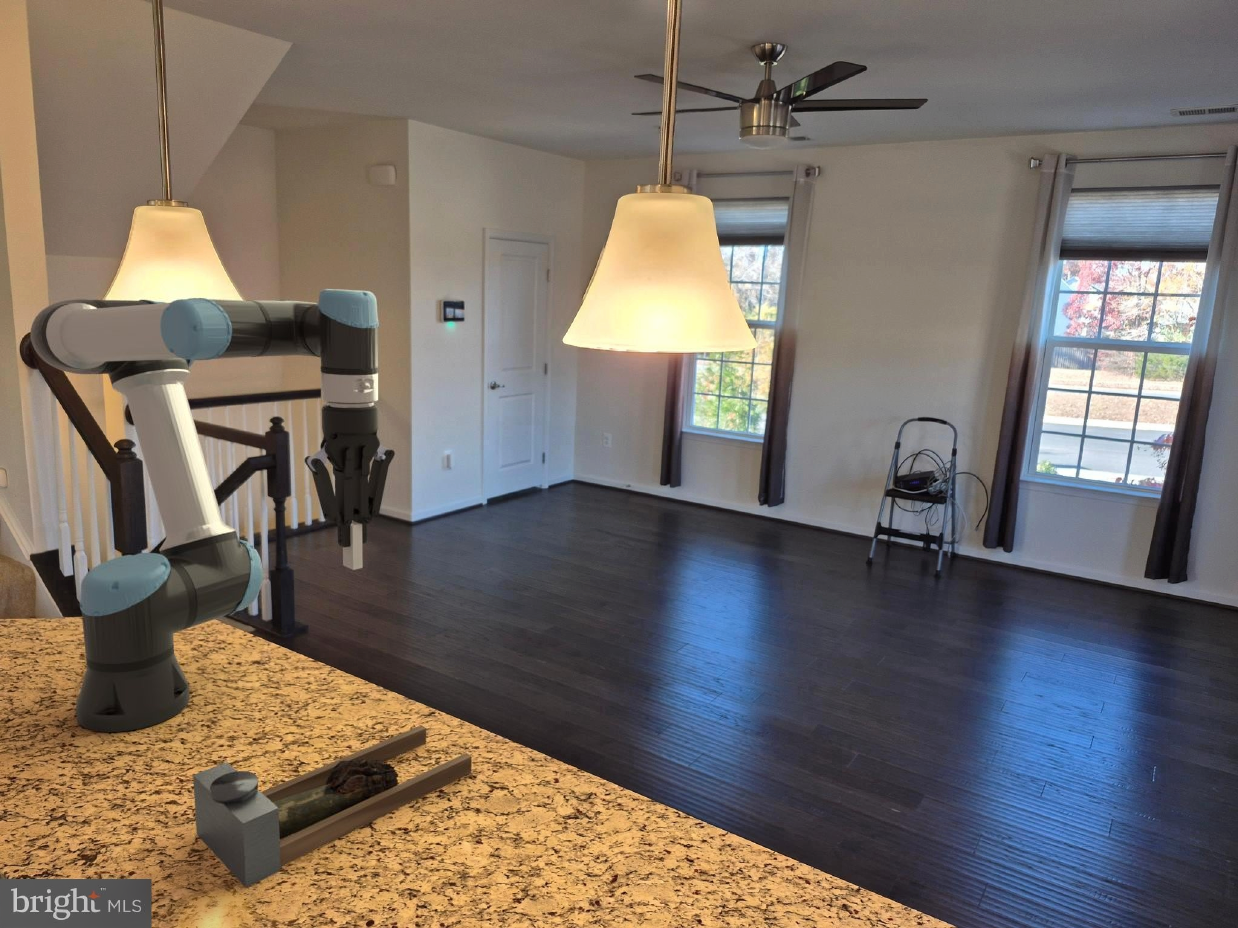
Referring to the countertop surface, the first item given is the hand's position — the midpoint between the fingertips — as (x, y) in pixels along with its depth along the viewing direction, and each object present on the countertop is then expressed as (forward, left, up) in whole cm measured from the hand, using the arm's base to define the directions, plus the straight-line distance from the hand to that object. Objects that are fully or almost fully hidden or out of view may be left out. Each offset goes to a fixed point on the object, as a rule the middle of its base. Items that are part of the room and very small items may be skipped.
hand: (352, 566), depth 119 cm
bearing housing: (+14, -24, -26) cm, 38 cm away
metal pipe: (+15, -13, -27) cm, 33 cm away
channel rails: (+14, -8, -26) cm, 31 cm away
